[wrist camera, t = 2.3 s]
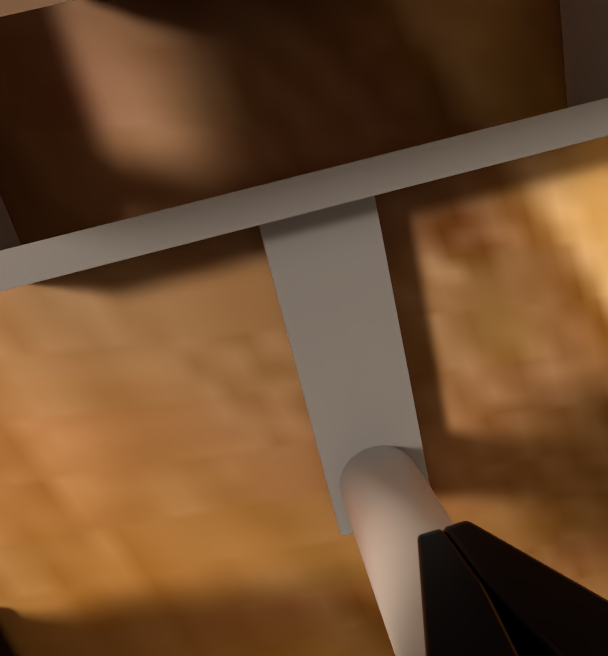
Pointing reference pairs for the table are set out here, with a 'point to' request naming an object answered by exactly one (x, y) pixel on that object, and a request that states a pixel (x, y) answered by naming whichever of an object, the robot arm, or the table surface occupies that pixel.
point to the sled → (350, 305)
